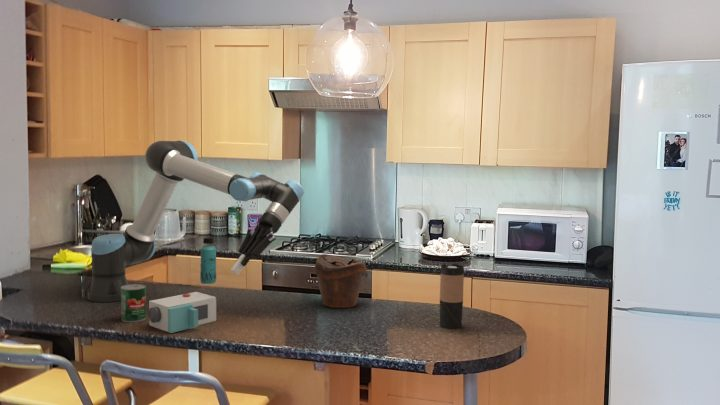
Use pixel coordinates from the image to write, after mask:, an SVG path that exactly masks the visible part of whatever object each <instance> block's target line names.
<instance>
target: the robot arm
mask: <svg viewBox="0 0 720 405" xmlns="http://www.w3.org/2000/svg"><path fill="white" fill-rule="evenodd" d="M144 158H145V162H146V165H147V166H148V168H149V169H151V170H152V171H154V172H155V174H154V177H153V179H152V181H151V183H150V184H149V185H150V186H149V188H148V190H147V192H146V194H145V196H144V198H143V200H142V203H141V205H140V207H139V209H138V212H137V213H136V216H135V218H134V220H133V223H132V224H129V225H127V226H126V228H125V230H124V232H123V233H108V234H102V235H99V236H96V237H95V238H93V240H92V242H91V249H90V252H91V272H92V278H91V282H90V284H89V288H88V291H87V300H89V301H90V302H96V303H111V302H118V301H120V302H121V287H122V286H124V285H129V283H128V280H127V277H126V267H127V266H132V265H136V264H140V263H141V264H142V263H144V262H146V261H148V260H150V259H152V257H153V255H155V252H156V249H157V248H156V247H157V246H156V236H155V231H156V228H157V227H158V224H159V222H160V220H161V218H162V217H163V216H162V215H163V214H164V211H165V210H166V207H167V206H168V203H169V201H170V199H171V197H172V194H173V193H174V191H175V188H176V186H177V184H178V183H181V182H183V181H184V179H185V180H187V181H190V182H193V183H196V184H199V185H202V186H204V187H207V188H210V189H212V190H216V191H218V192H221V193H224V194H226V195H230V197H232V198H233V199H234V200H235V201H238V202H246V201H251V200H257V199H265V200H267V201H269V202H271V203H269V205H268V206H267V208H266V209H265V211H264V212H263V213H262V214H261V217H260V218H259V219H258V225H256V226H255V228H254V229H252V230H251V229H247V232H246V234H245V237H244V239H243V241H242V243H241V245H240V247H239V249H238V253H239V254H240V255H239V257H238V258H237V259H236V261H235V263H234V264H233V265H232V267H231V268H230V271H231V272H232V273H233V274H234V275H237V276H239V274H240V273H241V272H242V270H243V269H244V268H245V267H246V265H247V264H248V263H249V261H250V260H252V259H255V260H256V259H257V258H258V257H259V256H260V255H261V254H262V253H263V252H264V251H265V250H266V249H267V247H269V246H270V244H272V243H273V242H274V241H275V240H276V239H277V237H276V236H274V235H275V234H276V233H278V231H279V230H280V228H281V227H282V225H283V224H284V223H285V222H286V220H287V218H288V217H289V215H290V214H291V213H292V211H293V210H294V209H295V207H296V206H297V205H298V203H299V202H300V201H301V199H302V197H303V196H304V193H305V190H304V187H303V186H302V184H300V183H299V182H298V181H297V180H294V179H293V180H291V179H289V180H287V181H286V182H284V183H283V182H280V181H278V180H276V179H273V178H272V177H269V176H267V175H266V174H264V173H260V172H253V173H252V174H251V175H250V176H249V177H247V176H243V175H241V174H238V173H235V172H232V171H229V170H226V169H223V168H221V167H219V166H218V167H217V166H214V165H212V164H209V163H206V162H203V161H199V159H198V158H199V156H198V153H197V150H196V148H195V147H194V145H193V144H192V143H190V142H188V141H185V140H184V141H183V140H158V141H154V142H153V143H151V144H150V145H149V146H148V147H147V149H146V151H145V156H144Z"/></svg>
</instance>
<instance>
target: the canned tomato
mask: <svg viewBox="0 0 720 405" xmlns="http://www.w3.org/2000/svg"><path fill="white" fill-rule="evenodd" d="M146 288H147V285H146V284H142V283H131V284H129V283H128V285H124V286H122V287H121V300H120V308H121V311H120V312H121V317H120V318H121V319H120V320H121V321H122V322H124V323H138V322H142V321H145V320H146V319H147V303H146V302H147V291H146V290H147V289H146Z"/></svg>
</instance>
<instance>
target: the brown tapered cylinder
mask: <svg viewBox="0 0 720 405" xmlns="http://www.w3.org/2000/svg"><path fill="white" fill-rule="evenodd" d="M313 272H314V274H315V275H316V278H317V282H318V287H319V291H320V296H321V302H322V305H323V306H325V307H329V308H336V309H339V308H340V309H343V308H345V309H346V308H347V309H348V308H353V307H355V306H357V304H358V299H359V294H360V290H361V286H362V281H363V277H364V278H366V279H367V278H368V276H369V275H368V269H367V266H366V264H365V263H364V262H363V261H358V262H357V260H356V259H354V258H352V259H351V260H349V259H346V258H342V257H338V256H336V255H332V254H327V253H326V254H325V253H324V254H320V255H319V256H318V257H317V258H316V261H315V265H314V268H313Z"/></svg>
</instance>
